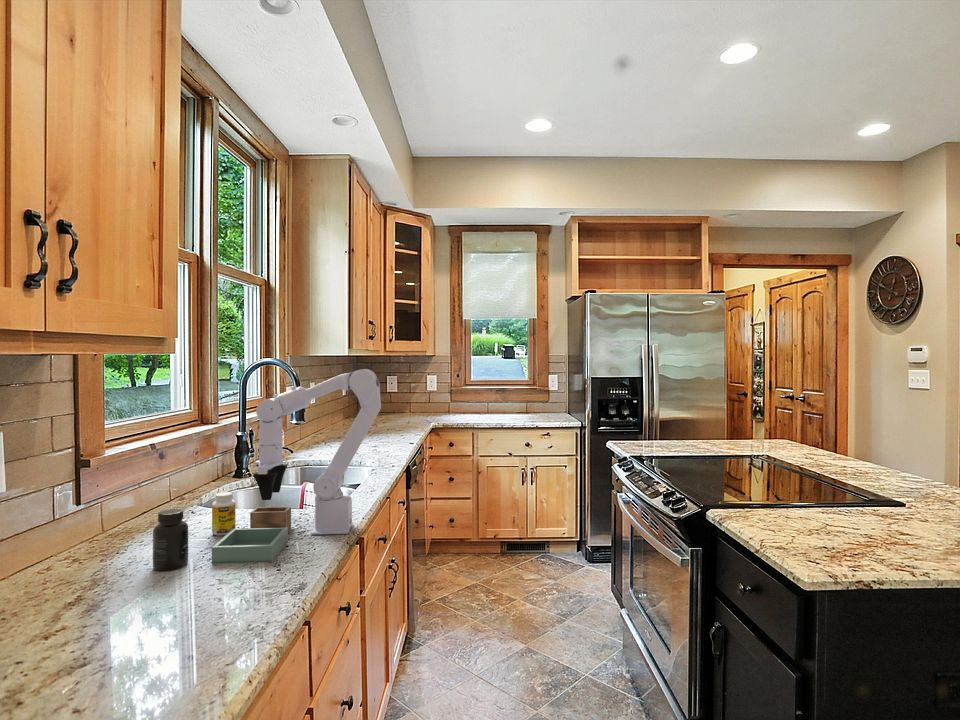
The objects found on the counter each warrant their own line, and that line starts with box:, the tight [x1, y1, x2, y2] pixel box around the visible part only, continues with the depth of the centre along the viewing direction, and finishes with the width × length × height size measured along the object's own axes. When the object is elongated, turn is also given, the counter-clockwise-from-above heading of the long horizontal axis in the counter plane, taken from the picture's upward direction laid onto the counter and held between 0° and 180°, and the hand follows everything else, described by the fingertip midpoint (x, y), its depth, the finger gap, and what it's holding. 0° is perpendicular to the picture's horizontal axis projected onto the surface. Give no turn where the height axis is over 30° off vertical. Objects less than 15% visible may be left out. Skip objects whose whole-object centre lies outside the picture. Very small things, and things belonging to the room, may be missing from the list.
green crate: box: [211, 527, 289, 565], centre depth 127 cm, size 13×13×4 cm
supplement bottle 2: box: [211, 491, 236, 537], centre depth 141 cm, size 6×6×10 cm
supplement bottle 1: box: [152, 508, 189, 572], centre depth 119 cm, size 7×7×12 cm
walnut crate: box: [249, 506, 292, 531], centre depth 142 cm, size 9×5×6 cm, turn 95°
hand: (271, 495), depth 142 cm, fingers open, 7 cm apart
